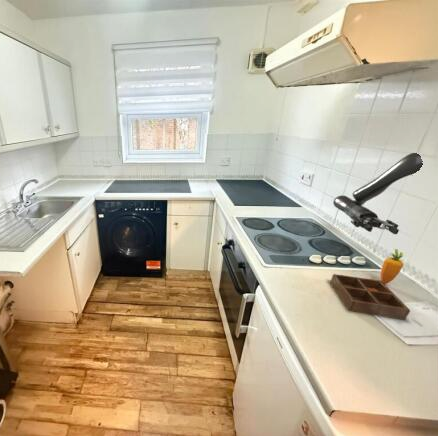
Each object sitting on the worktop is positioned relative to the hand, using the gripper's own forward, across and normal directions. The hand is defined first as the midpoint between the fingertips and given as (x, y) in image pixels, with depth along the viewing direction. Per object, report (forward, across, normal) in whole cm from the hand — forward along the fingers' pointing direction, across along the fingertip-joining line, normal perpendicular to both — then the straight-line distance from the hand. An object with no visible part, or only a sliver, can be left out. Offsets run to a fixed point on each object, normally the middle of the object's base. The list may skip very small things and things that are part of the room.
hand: (383, 230), depth 95 cm
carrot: (+11, 0, +18) cm, 21 cm away
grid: (+23, -12, +18) cm, 32 cm away
